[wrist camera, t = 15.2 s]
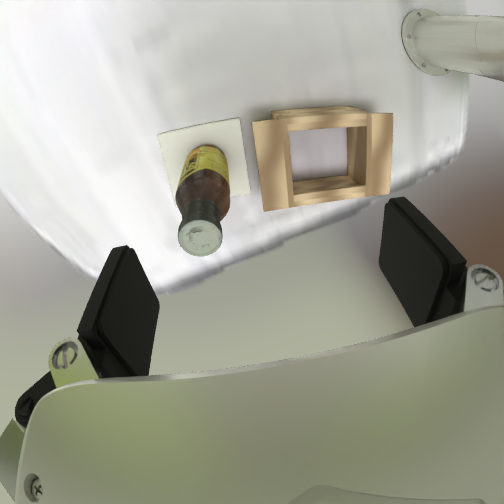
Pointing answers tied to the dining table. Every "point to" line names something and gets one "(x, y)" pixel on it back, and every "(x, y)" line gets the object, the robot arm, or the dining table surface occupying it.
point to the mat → (216, 134)
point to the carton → (329, 188)
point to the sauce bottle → (203, 200)
